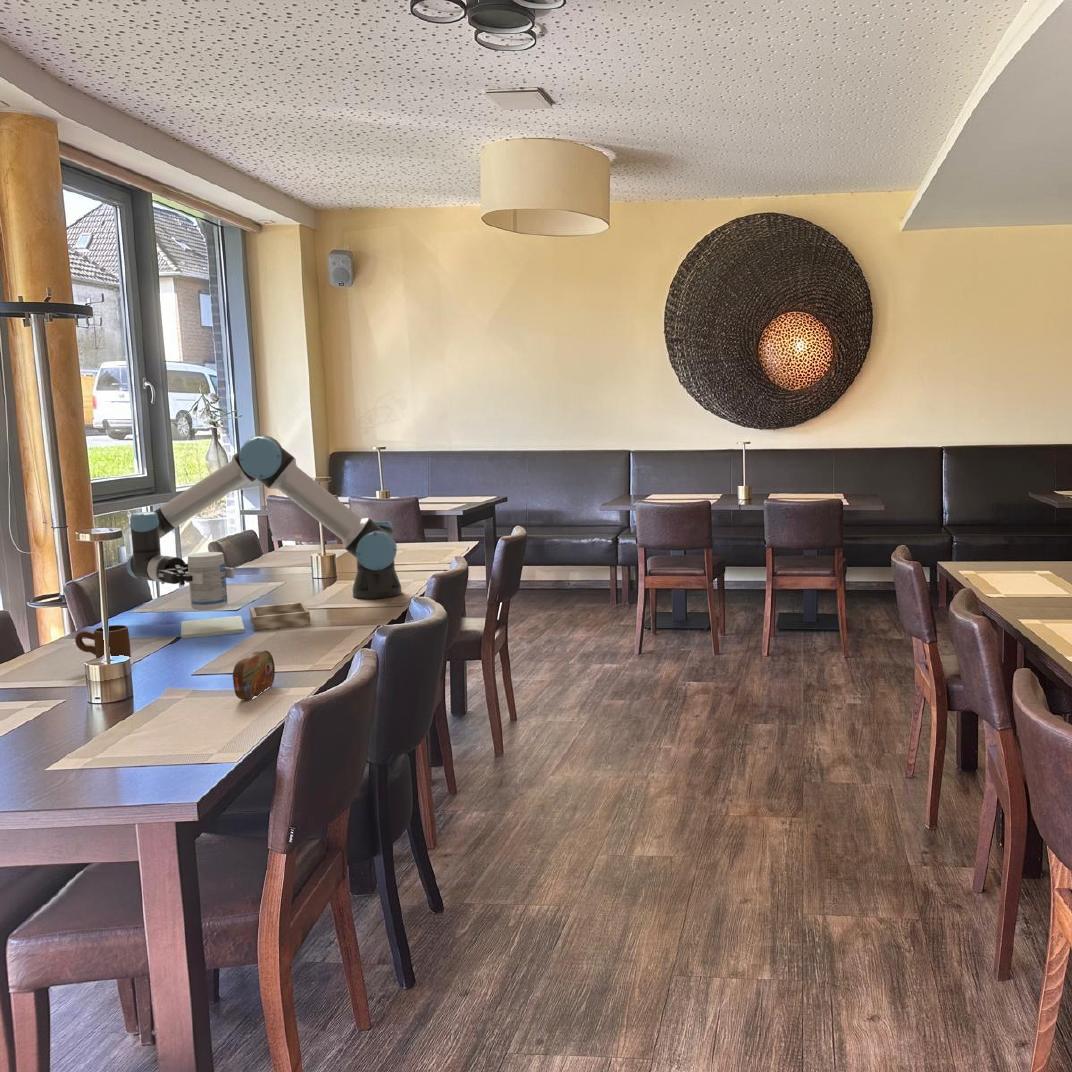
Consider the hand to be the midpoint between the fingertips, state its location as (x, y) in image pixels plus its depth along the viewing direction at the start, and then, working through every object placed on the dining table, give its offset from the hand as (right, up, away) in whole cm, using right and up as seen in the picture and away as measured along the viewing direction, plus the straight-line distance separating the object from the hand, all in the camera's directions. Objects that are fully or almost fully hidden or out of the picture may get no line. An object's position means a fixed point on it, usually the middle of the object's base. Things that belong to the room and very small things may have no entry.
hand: (217, 576), depth 275 cm
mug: (-16, -21, -34) cm, 43 cm away
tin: (+27, -23, -60) cm, 69 cm away
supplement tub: (-3, -9, +4) cm, 10 cm away
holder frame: (+14, -13, +10) cm, 22 cm away
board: (-3, -14, +5) cm, 15 cm away
